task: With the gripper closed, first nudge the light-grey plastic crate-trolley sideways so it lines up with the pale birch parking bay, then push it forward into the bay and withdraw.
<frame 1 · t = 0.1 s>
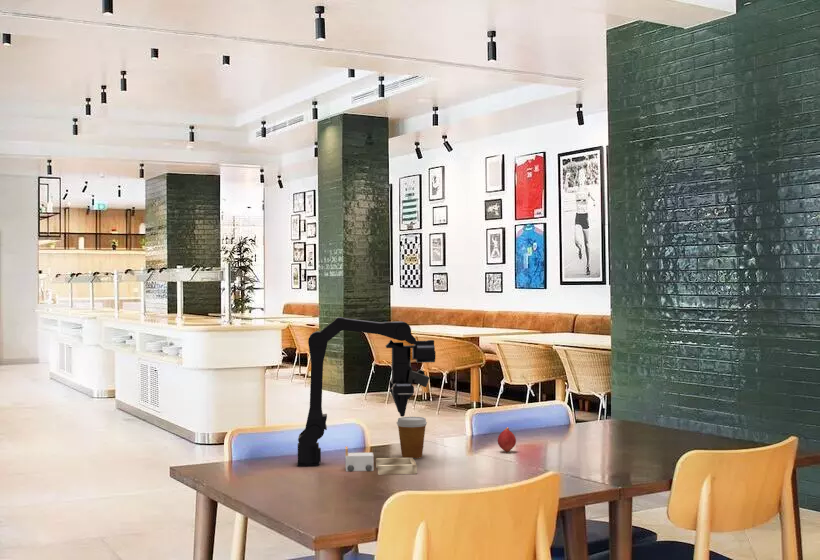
hand: (401, 414, 284), 15 cm above the table, fingers open, 9 cm apart
trolley: (359, 469, 274), on the table
bay: (394, 470, 272), on the table
onion: (506, 452, 301), on the table
disposable coffee cup: (411, 457, 293), on the table
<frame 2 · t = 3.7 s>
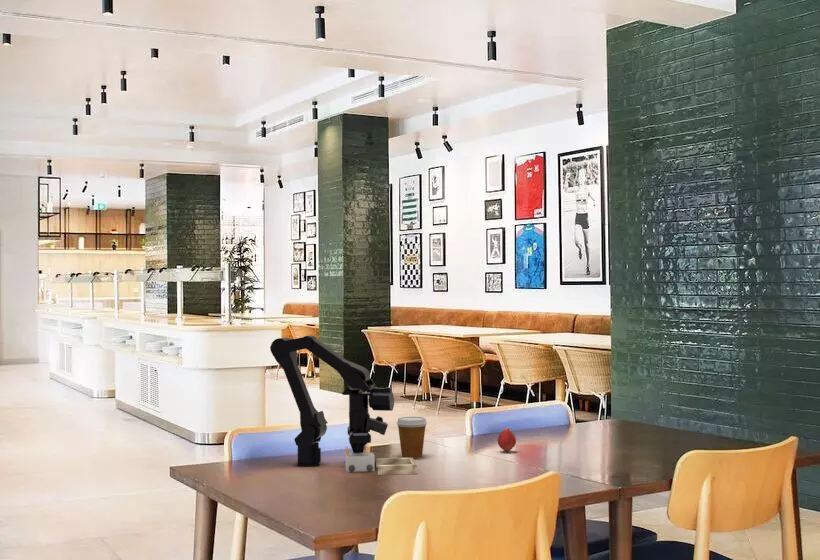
hand: (359, 462, 278), 1 cm above the table, fingers closed
trolley: (359, 469, 273), on the table, touching gripper
everything else where it was.
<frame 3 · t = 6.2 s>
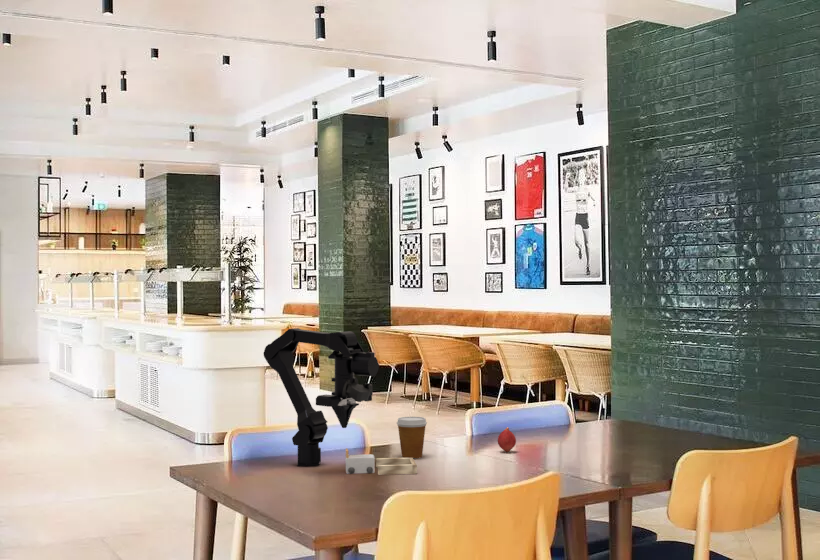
hand: (344, 427, 275), 12 cm above the table, fingers closed
trolley: (359, 471, 270), on the table
everything else where it was.
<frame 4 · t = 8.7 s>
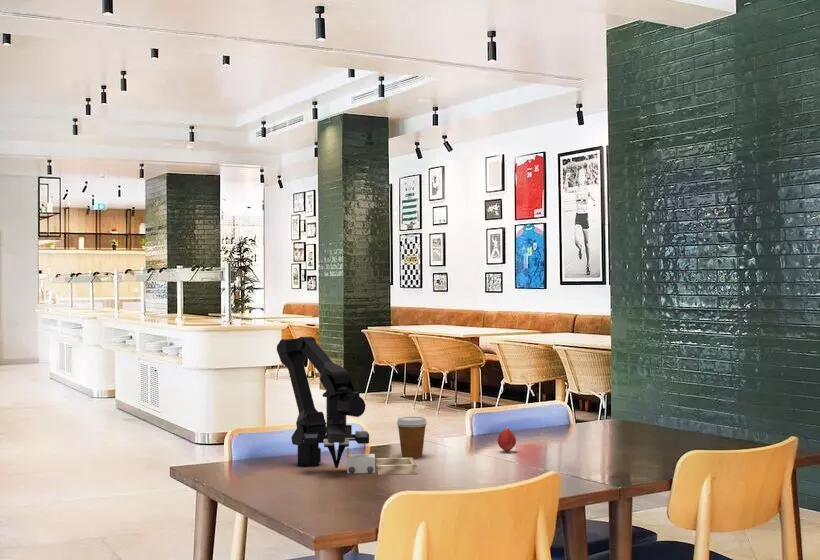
hand: (336, 467, 270), 1 cm above the table, fingers closed
trolley: (360, 471, 271), on the table, touching gripper
everything else where it was.
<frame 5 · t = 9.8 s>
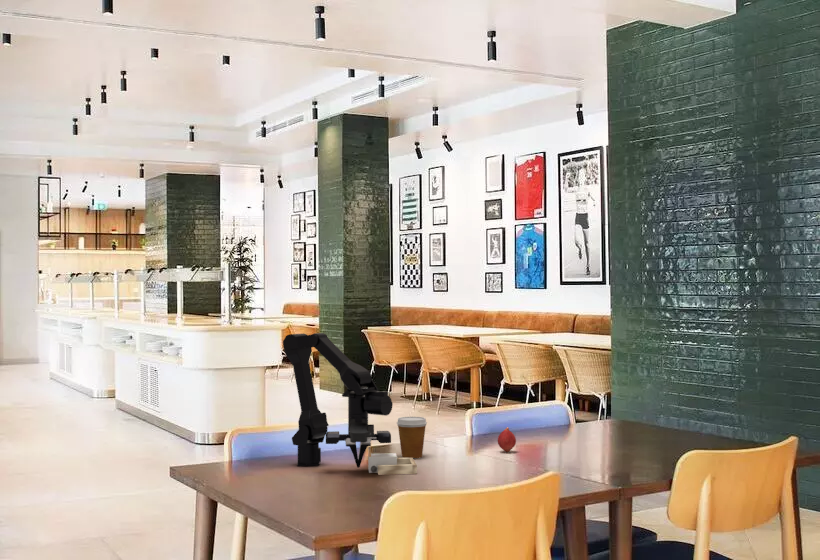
hand: (358, 467, 271), 1 cm above the table, fingers closed
trolley: (382, 470, 271), on the table, touching gripper
everything else where it was.
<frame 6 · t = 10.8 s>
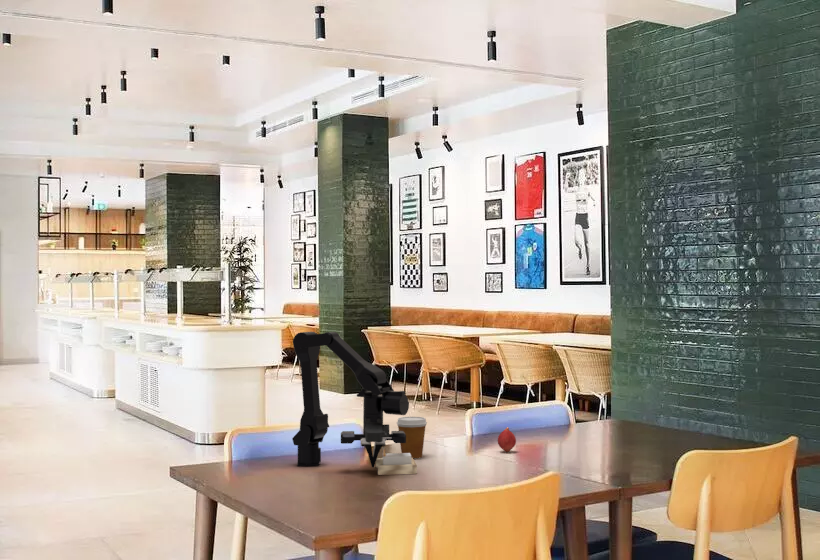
hand: (372, 467, 271), 1 cm above the table, fingers closed
trolley: (396, 470, 272), on the table, touching bay, gripper
everything else where it was.
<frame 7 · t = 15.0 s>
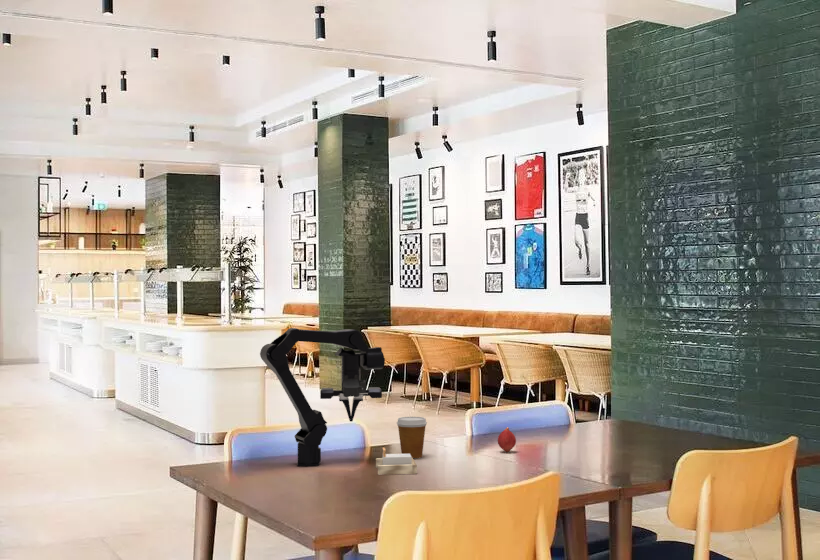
hand: (351, 421, 288), 12 cm above the table, fingers closed
trolley: (397, 471, 272), on the table
everything else where it was.
at the end: trolley 0.5 cm from the target spot on the bay, point 0.0 cm above the bay's base; trolley tilted 0°; the gripper is holding nothing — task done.
